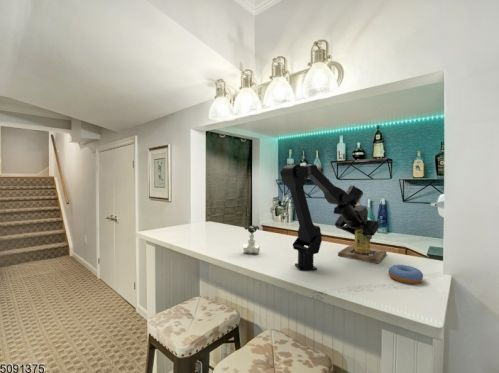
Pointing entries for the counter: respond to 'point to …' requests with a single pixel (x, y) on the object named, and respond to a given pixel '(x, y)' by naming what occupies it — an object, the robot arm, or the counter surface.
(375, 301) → the counter surface
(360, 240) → the sauce bottle
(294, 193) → the robot arm
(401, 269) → the doughnut
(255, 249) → the valve
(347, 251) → the walnut board
